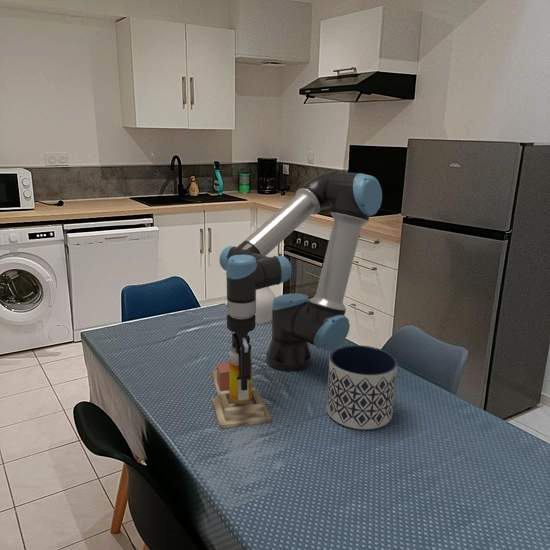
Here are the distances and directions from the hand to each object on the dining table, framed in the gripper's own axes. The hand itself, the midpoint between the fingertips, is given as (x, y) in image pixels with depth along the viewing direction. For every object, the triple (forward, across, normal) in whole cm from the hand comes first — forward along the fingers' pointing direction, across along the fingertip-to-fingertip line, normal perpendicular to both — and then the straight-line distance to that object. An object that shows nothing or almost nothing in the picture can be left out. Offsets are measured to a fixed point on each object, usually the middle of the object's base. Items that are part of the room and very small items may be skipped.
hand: (240, 392), depth 143 cm
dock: (+6, -8, 0) cm, 10 cm away
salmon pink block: (+5, -13, 0) cm, 14 cm away
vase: (+6, -66, +21) cm, 70 cm away
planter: (+6, +8, +32) cm, 34 cm away
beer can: (+2, 0, 0) cm, 2 cm away
